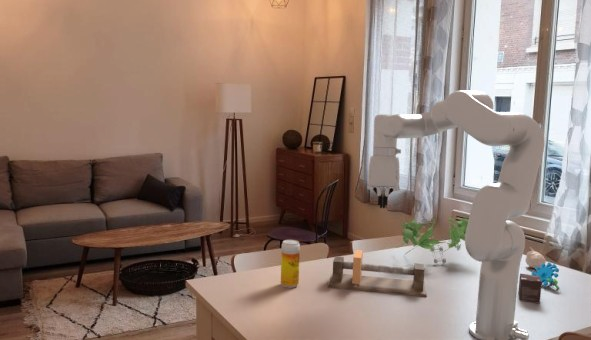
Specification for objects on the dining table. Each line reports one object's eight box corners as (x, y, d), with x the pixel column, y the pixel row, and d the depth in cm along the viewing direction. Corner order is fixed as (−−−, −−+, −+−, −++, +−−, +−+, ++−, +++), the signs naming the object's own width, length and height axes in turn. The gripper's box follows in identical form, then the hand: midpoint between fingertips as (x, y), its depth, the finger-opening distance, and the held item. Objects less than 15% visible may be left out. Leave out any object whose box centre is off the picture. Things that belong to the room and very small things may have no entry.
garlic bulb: (540, 266, 196) (542, 246, 195) (546, 271, 190) (549, 251, 189) (523, 265, 197) (524, 245, 196) (528, 270, 191) (530, 250, 190)
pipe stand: (424, 283, 173) (426, 261, 172) (426, 296, 161) (428, 273, 160) (332, 275, 179) (333, 253, 178) (328, 286, 167) (329, 263, 166)
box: (537, 297, 164) (540, 275, 163) (540, 304, 159) (542, 281, 158) (517, 294, 166) (519, 273, 165) (519, 300, 161) (521, 278, 160)
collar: (361, 275, 175) (362, 250, 174) (359, 284, 167) (361, 258, 165) (354, 274, 176) (355, 249, 175) (352, 283, 167) (353, 257, 166)
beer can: (296, 289, 164) (298, 245, 162) (278, 287, 166) (279, 243, 164) (300, 282, 170) (301, 240, 168) (282, 281, 171) (284, 238, 169)
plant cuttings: (388, 276, 199) (410, 257, 180) (379, 236, 207) (400, 214, 188) (466, 271, 208) (495, 253, 189) (454, 233, 216) (481, 212, 197)
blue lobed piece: (524, 274, 181) (546, 257, 179) (533, 285, 182) (554, 267, 181) (541, 290, 170) (564, 271, 169) (550, 301, 172) (574, 282, 170)
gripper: (407, 152, 166) (405, 206, 168) (362, 150, 169) (360, 204, 171) (408, 154, 159) (405, 210, 161) (360, 152, 162) (359, 208, 164)
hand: (382, 207), depth 166 cm, fingers closed
